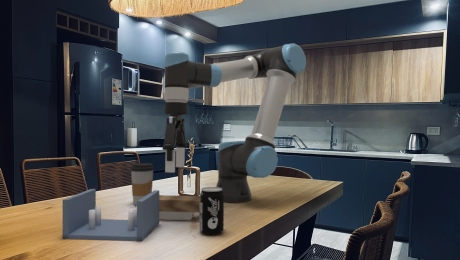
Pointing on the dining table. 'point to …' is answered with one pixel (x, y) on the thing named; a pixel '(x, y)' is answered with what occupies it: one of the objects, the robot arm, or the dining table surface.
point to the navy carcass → (93, 227)
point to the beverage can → (211, 211)
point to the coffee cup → (141, 180)
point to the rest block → (175, 215)
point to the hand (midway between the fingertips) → (175, 169)
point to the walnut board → (179, 203)
